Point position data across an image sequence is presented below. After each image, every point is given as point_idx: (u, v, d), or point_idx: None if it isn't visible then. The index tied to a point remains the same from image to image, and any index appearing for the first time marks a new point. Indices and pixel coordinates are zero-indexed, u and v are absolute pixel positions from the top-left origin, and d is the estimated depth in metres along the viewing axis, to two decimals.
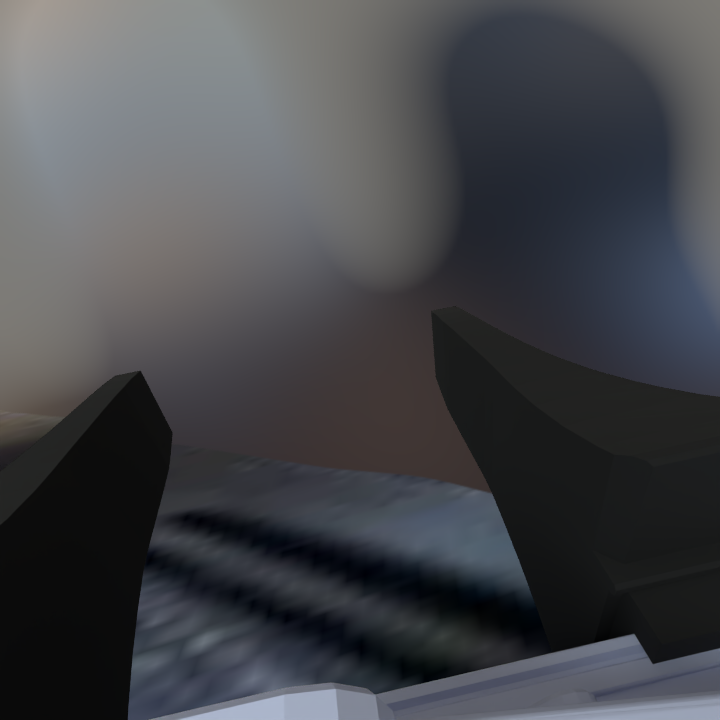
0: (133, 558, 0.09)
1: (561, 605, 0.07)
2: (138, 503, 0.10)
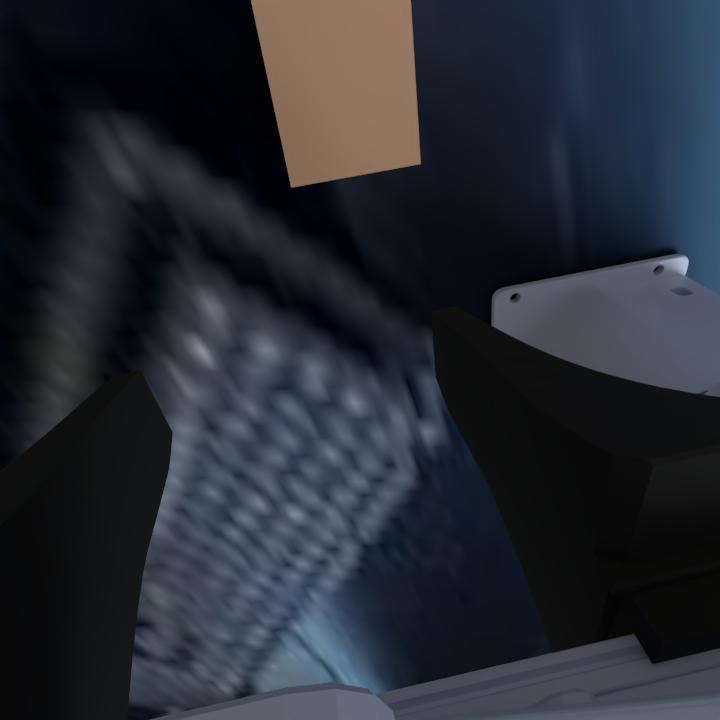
0: (133, 558, 0.09)
1: (561, 604, 0.07)
2: (138, 503, 0.10)
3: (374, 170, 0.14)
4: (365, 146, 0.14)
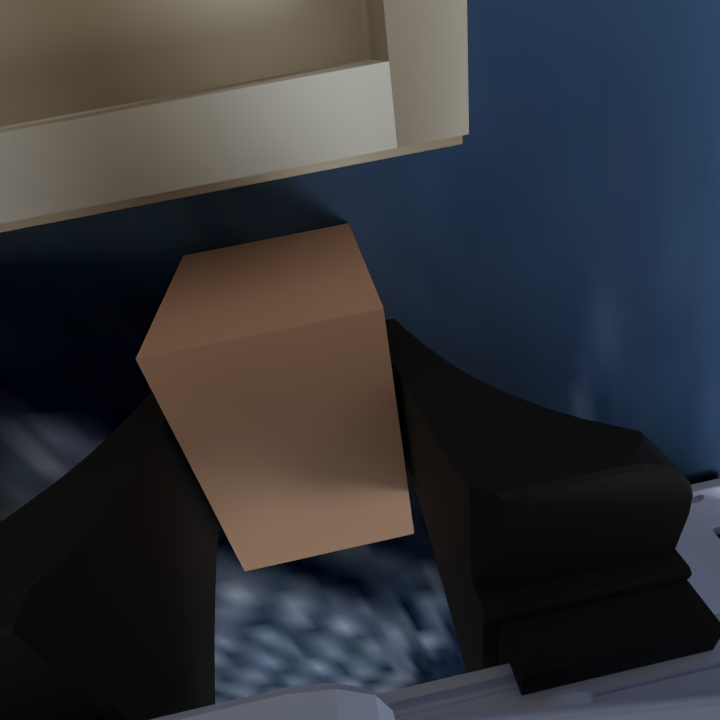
0: (209, 541, 0.09)
1: (465, 627, 0.07)
2: None
3: (353, 545, 0.11)
4: (340, 528, 0.10)
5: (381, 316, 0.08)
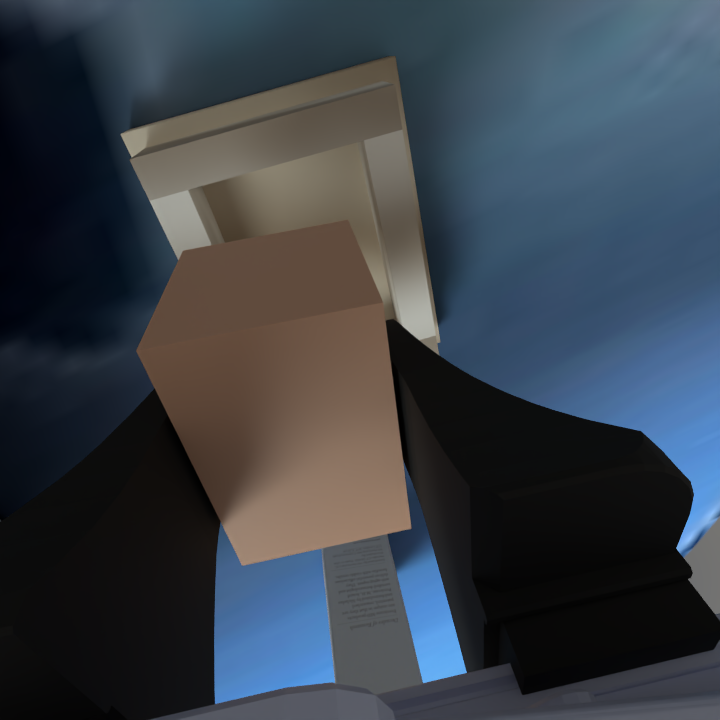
0: (209, 541, 0.09)
1: (465, 626, 0.07)
2: None
3: (351, 540, 0.11)
4: (338, 523, 0.10)
5: (381, 310, 0.08)
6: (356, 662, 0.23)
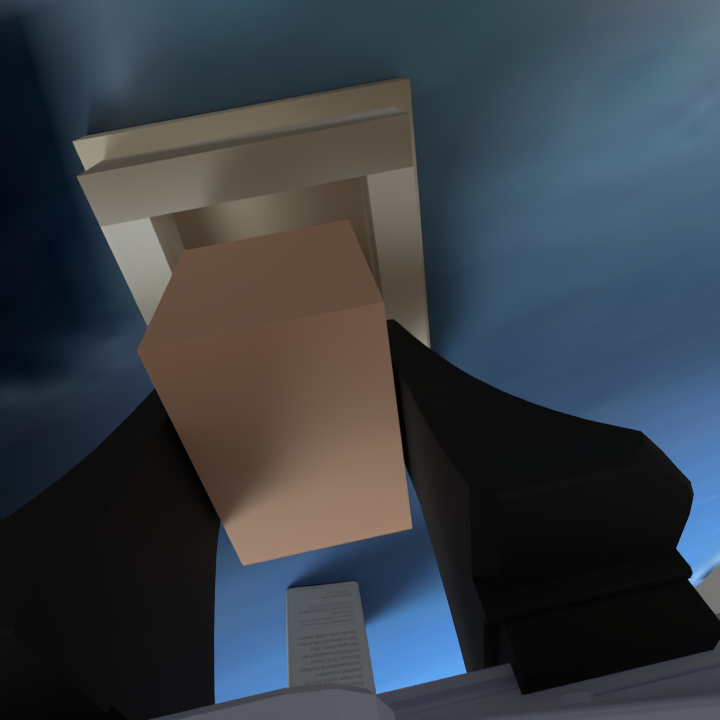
0: (208, 541, 0.09)
1: (465, 626, 0.07)
2: None
3: (352, 540, 0.11)
4: (339, 523, 0.10)
5: (381, 310, 0.08)
6: None
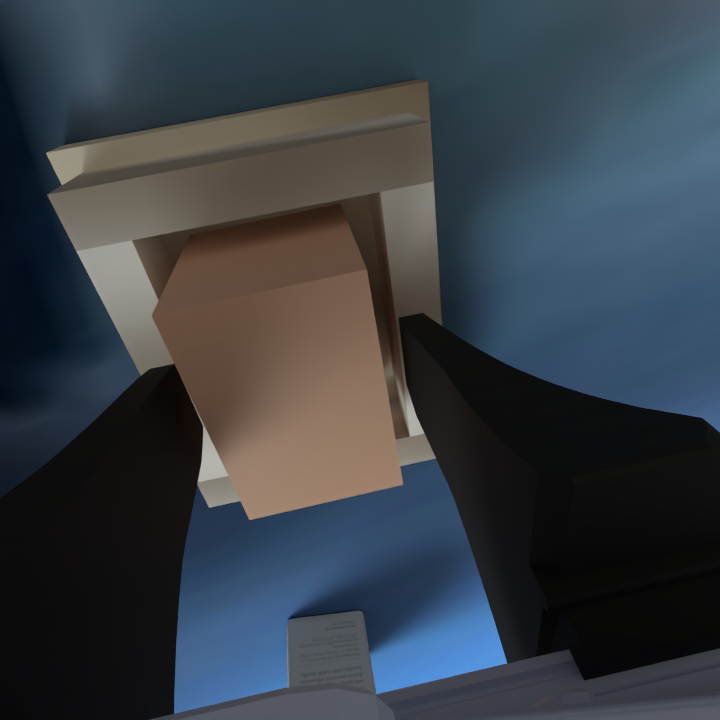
0: (173, 549, 0.09)
1: (510, 616, 0.07)
2: (176, 495, 0.10)
3: (348, 495, 0.12)
4: (336, 479, 0.12)
5: (365, 276, 0.09)
6: None
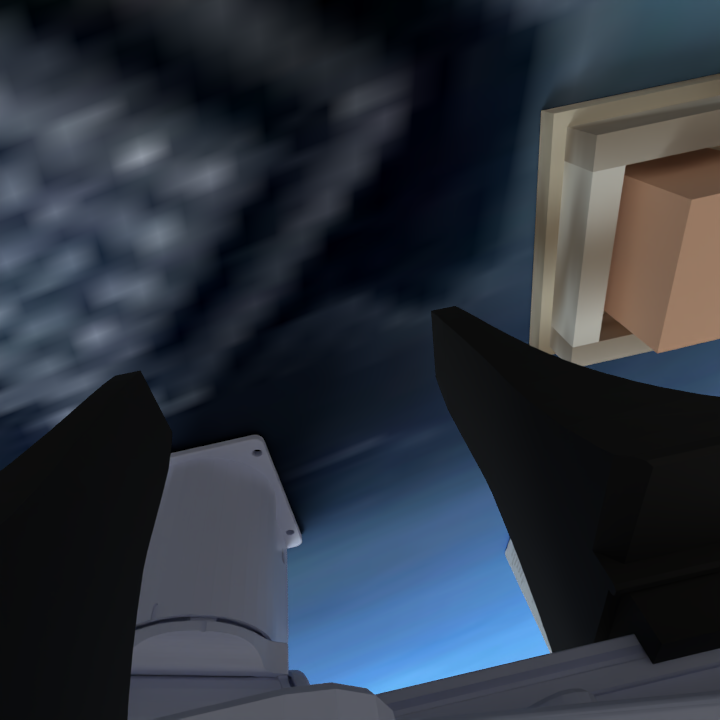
0: (133, 558, 0.09)
1: (562, 604, 0.07)
2: (138, 503, 0.10)
3: None
4: None
5: None
6: None
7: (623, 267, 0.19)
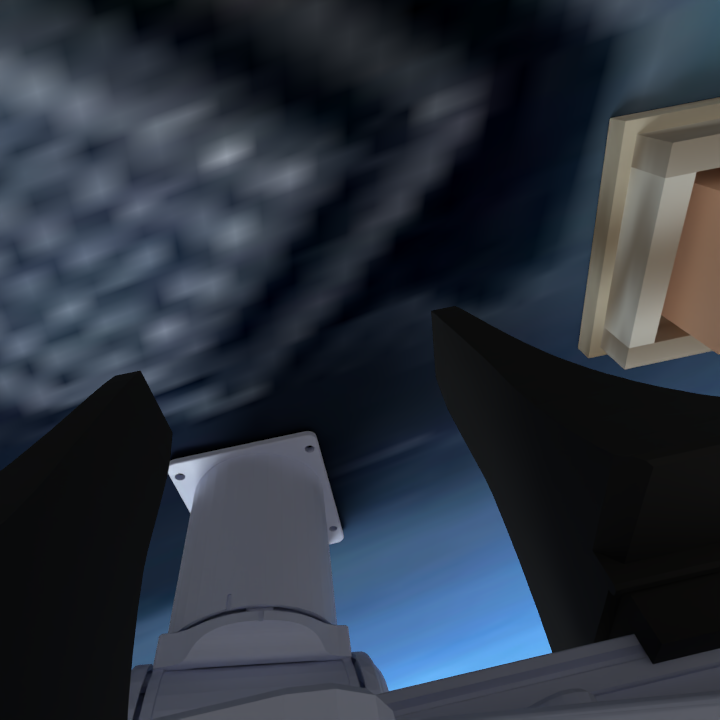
0: (133, 558, 0.09)
1: (561, 604, 0.07)
2: (138, 503, 0.10)
3: None
4: None
5: None
6: None
7: (683, 271, 0.20)
